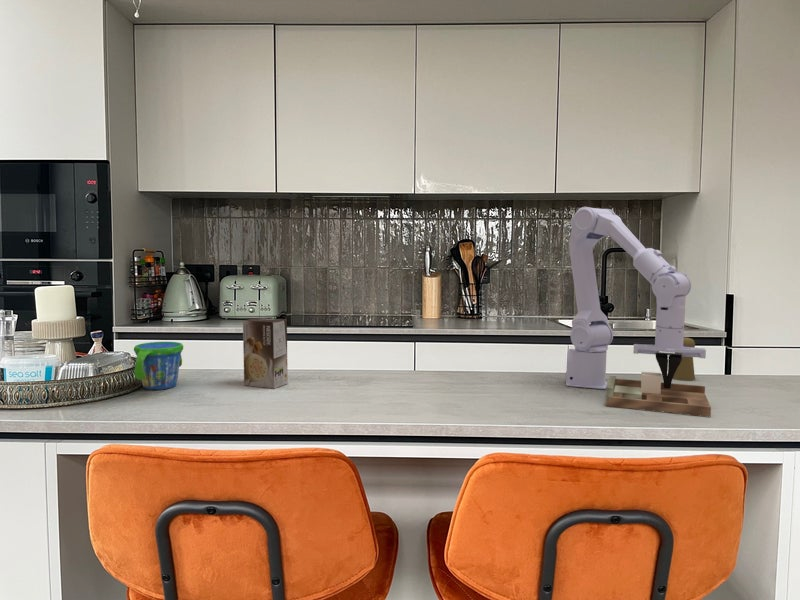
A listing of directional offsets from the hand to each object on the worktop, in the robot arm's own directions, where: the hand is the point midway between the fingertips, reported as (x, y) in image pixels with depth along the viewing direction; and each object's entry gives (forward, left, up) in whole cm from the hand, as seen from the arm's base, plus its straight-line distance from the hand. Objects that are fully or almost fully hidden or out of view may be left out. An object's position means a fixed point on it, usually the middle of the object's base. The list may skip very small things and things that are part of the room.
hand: (666, 387), depth 131 cm
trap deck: (-2, -3, -3) cm, 5 cm away
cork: (+5, +30, -3) cm, 31 cm away
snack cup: (-111, -37, -3) cm, 117 cm away
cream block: (-3, 0, -1) cm, 4 cm away
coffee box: (-90, -24, -3) cm, 93 cm away
